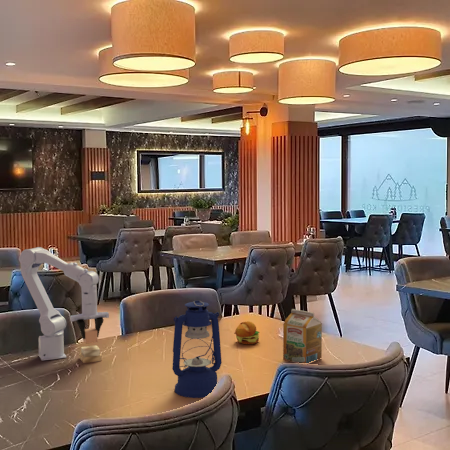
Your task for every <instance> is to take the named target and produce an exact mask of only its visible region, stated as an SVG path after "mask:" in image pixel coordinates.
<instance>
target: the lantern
mask: <svg viewBox="0 0 450 450" xmlns="http://www.w3.org/2000/svg"><path fill="white" fill-rule="evenodd" d="M208 306H210V304H209V303H208V302H204V301H201V300H194V301H190V302H187V303H184V307H187V310H185V314H181V315H179V317H178V316H175V317H174V318H173V321H174V331H173V346H172V352H173V353H172V354H173V355H172V366H171V367H172V371H173V374H174V375H175V376H177V383H176V384H175V385H174V393H176V395H178V396H180V397H185V398H190V399H192V398H193V399H203V397H204V398H206V397H205V396H207V395H208V394H209V393H211V392H212V390H213V389H214V387H215V386H216V384H217V382H218V375H217V374H218V373H217V371H219V370H220V369H221V366H222V363H223V361H222V350H221V338H220V336H221V334H220V324H219V317H220V312H218V311H217V312H215V313H214V312H212V311H209V310H208V309H207V308H208ZM210 320H211V321H210ZM183 326H185V327H187V331H186V332H185V334H184V337H185V338H187V340H186V341H185V342H184V343H183V345H182V336H183ZM209 326H211V332H212V333H211V339H210V345H209V344H208V342H206V341H204V340H203V339H207V338H209V337H210V332H209V331H208V330H207V329H208V327H209ZM190 340H199V341H202V342H204V343H205V345H200V346H199V345H198V346H195V347H191V348H188V349H187V350H185V351H184V353H186V352H188V351H189V350H192V349H195V348H202V347H205V348H206V347H207V348H208V349H207V351H206V352H205V354H202V355H201V354H200V355H197V356H195V357H193V358H192V357H191V358H186V357H184V353H182V350H183V349H184V347H185V344H186V343H187V342H188V341H190ZM212 344H213V348H212ZM210 350H211V353H210V354H209V355H208V356H207V358H204V356H206V355H207V354H208V353H209V351H210ZM210 356H211V359H209V357H210ZM181 360H183V365H181ZM211 364H212V366H211V367H208V366H210V365H211ZM183 367H184V369H181V368H183Z"/></svg>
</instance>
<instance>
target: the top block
mask: <svg viewBox="0 0 450 450" xmlns="http://www.w3.org/2000/svg"><path fill="white" fill-rule="evenodd" d="M80 353H81V354H82V355H83V356H84V358H85V357H93V356H100V355H101V349H100V348H99V346H98V345H96V344H95V345H88V346H81V347H80Z"/></svg>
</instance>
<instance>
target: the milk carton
mask: <svg viewBox="0 0 450 450" xmlns="http://www.w3.org/2000/svg"><path fill="white" fill-rule="evenodd" d="M282 328H283V330H282V331H283V334H282V336H283V338H282V339H283V343H282V344H283V345H282V347H283V349H282V351H283V352H282V355H283V356H282V358H283V361H287V362H292V363H295V362H299V363H309V362H311V361H314V360H317V359H320V358H322V356H323V355H322V350H323V349H322V344H323V343H322V340H323V335H322V334H323V331H322V330H323V323H322V321H321V320H320V319H319V318H317V317H316V316H315V313H314V312H311V311H305V310H300V309H295V308H291V313H289V315H288V316H287V317H286V318H285V320H284V321H283V327H282ZM320 360H321V359H320ZM299 363H298V364H299Z"/></svg>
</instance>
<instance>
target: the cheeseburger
mask: <svg viewBox="0 0 450 450" xmlns="http://www.w3.org/2000/svg"><path fill="white" fill-rule="evenodd" d="M233 334H235V338H236V339H237V343H239V344H242V345H255V344H257V343H258V342H260V341H259V339H260V335H259V334H260V331H258V330H257V326H256V324H255V323H254V322H252V321H249V320H248V321H243V322H240V323H238V325H237V326H236V328H235V331H234V332H233Z"/></svg>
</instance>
